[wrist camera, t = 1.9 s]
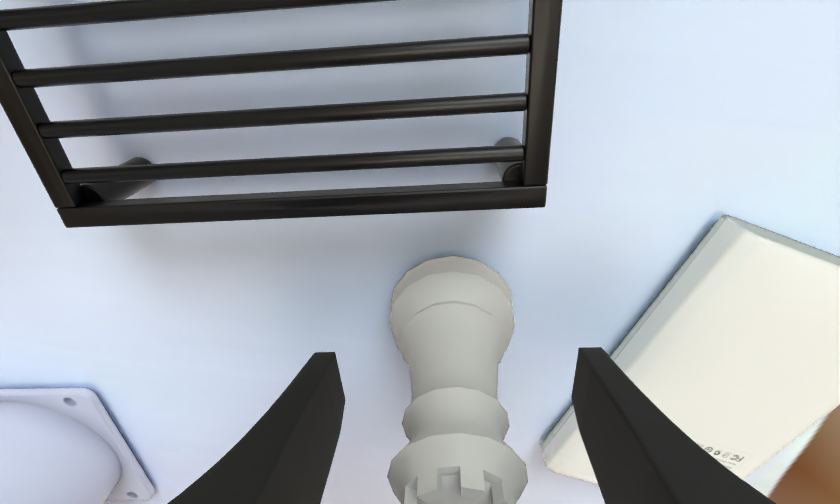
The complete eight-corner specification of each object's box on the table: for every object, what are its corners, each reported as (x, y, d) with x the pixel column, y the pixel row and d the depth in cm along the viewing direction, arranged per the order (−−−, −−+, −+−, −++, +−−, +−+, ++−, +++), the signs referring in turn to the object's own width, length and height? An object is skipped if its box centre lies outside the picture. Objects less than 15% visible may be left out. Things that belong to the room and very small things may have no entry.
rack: (133, 188, 14) (65, 228, 12) (-46, -237, 10) (-228, -327, 7) (525, 169, 14) (546, 208, 11) (553, -313, 9) (600, -447, 6)
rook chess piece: (533, 274, 15) (608, 493, 9) (478, 359, 18) (503, 589, 11) (417, 230, 15) (397, 430, 8) (375, 324, 17) (330, 546, 10)
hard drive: (917, 284, 15) (691, 483, 21) (716, 209, 14) (538, 440, 20) (966, 313, 14) (709, 517, 20) (748, 232, 13) (546, 473, 19)
